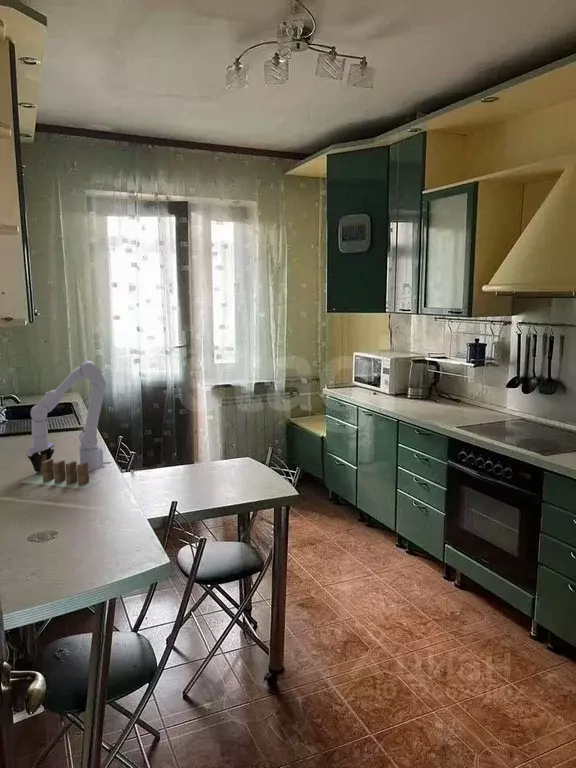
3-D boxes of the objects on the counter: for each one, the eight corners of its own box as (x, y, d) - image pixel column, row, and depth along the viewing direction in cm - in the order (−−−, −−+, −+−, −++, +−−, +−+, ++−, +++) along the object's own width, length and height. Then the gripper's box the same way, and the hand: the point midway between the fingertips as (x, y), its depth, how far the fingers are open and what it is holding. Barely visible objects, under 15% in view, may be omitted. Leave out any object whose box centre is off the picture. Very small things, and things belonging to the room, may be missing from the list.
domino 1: (44, 472, 232) (43, 453, 231) (47, 472, 232) (46, 453, 231) (36, 475, 228) (35, 456, 227) (40, 475, 227) (39, 456, 226)
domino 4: (73, 480, 220) (72, 461, 218) (77, 480, 219) (76, 461, 218) (66, 484, 215) (65, 464, 214) (70, 484, 215) (69, 464, 214)
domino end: (85, 481, 218) (84, 462, 217) (89, 482, 218) (88, 462, 217) (78, 485, 214) (77, 465, 213) (82, 485, 214) (81, 465, 213)
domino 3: (62, 479, 221) (61, 460, 220) (65, 479, 220) (64, 460, 219) (54, 482, 217) (53, 463, 216) (58, 483, 216) (57, 463, 215)
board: (37, 475, 227) (37, 474, 227) (100, 482, 220) (100, 480, 220) (19, 483, 217) (19, 482, 217) (85, 490, 210) (85, 488, 210)
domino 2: (50, 478, 222) (49, 459, 221) (54, 478, 222) (53, 459, 221) (43, 481, 218) (42, 462, 217) (46, 482, 217) (45, 462, 216)
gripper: (43, 431, 235) (45, 463, 237) (18, 439, 222) (20, 473, 224) (58, 432, 234) (60, 464, 236) (34, 440, 220) (36, 475, 222)
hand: (41, 469), depth 229 cm, fingers open, 5 cm apart
